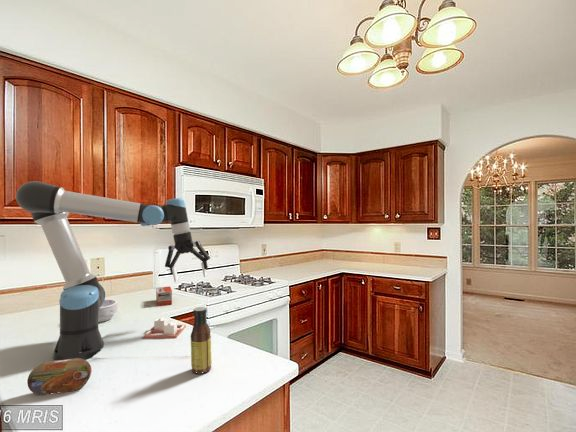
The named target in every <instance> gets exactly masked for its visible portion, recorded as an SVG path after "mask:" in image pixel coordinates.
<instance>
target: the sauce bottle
mask: <svg viewBox="0 0 576 432" xmlns="http://www.w3.org/2000/svg"><path fill="white" fill-rule="evenodd" d="M207 311H208V310H207V308H206V307H205V306H204V307H203V306H200V307H195V308H193V318H194V319H193V326H192V329H191V330H192V331H191V333H190V359H191V360H190V363H191V364H190V365H191V370H192V373H194V372H197V373H202V372H206V373H208V372H210V371H211V370H212V336H211V328H210V326H209V324H208V323H207ZM209 370H210V371H209ZM207 371H208V372H207Z"/></svg>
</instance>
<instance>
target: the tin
mask: <svg viewBox="0 0 576 432" xmlns="http://www.w3.org/2000/svg"><path fill="white" fill-rule="evenodd" d="M92 373H93V371H92V365H91V364H90V362H89V361H88V360H87V359H81V358H75V359H67V360H59V361H55V360H51V361H50V360H49V361H46V362H42V363H41V364H39V365H38V366H35V367H34V368H33V369H32V371H31V372H30V373H29V375H28V377H27V380H26V381H27V386H28V387H27V388H28V389H29V390H30V392H31V393H33V394H34V395H38V396H45V395H46V396H47V394H48V395H52V394H51V393H55V394H59V393H58V392H62V393H67V392H66V391H70V392H74V391H73V390H76V391H78V390H81V389H82V388H83V387H84V386H85V385H86V384H87V383H88V381H89V380H90V379H91V375H92Z"/></svg>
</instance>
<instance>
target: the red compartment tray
mask: <svg viewBox="0 0 576 432" xmlns="http://www.w3.org/2000/svg"><path fill="white" fill-rule="evenodd" d="M186 327H187V325H186V324H177V332H176V333H175V335H164V330H154V326H152V327H151V328H150V329H149V330H148V331H147V332H146V333H145V334H144V335H143V336H142V338H143V339H145V340H146V339H177V338H178V337H179V336H180V335H181V333H182V332H183V331H184V330H185V328H186Z"/></svg>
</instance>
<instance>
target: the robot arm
mask: <svg viewBox="0 0 576 432" xmlns="http://www.w3.org/2000/svg"><path fill="white" fill-rule="evenodd" d="M15 200H16V203H17V205H18V206H19V207H20V208H21V209H23V210H24V211H26V212H28V213H30V215H31V218H32V220H33V222H34V224H37V225H40V226H41V228H42V230H43V234H44V236H45V237H46V240H47V242H48V246H49V247H50V249H51V251H52V254H53V256H54V259H55V261H56V263H57V265H58V268H59V270H60V272H61V274H62V275H61V276H62V277H63V280H64V282H65V284H64V285H63V287H62V289H63V291H62V292H61V293H60V297H59V301H58V302H59V337H58V339H57V342H56V345H55V347H54V350H53V357H52V358H53V361H59V360H67V359H75V358H81V359H84V360H88V359H91V358H93V357H95V356H96V355H97V354H98V353H99V352H101V351H102V349H103V348H104V345H105V344H104V340H103V337H102V335H101V332H100V330H99V322H98V311H99V308H100V307H101V306H102V304H103V302H104V300H106V292H105V288H104V287H103V286H102V284H100V282H99V280H98V277H97V275H96V274H93V273H91V272H90V270H89V267H88V265H87V263H86V261H85V258H84V256H83V253H82V251H81V249H80V245H79V244H78V241H77V238H76V236H75V234H74V232H73V229H72V226H71V224H70V222H69V219H68V217H69V215H70V214H76V215H82V216H83V215H84V216H89V217H97V218H105V219H111V220H117V221H125V222H132V223H137V224H140V226H142V227H145V226H147V227H148V226H157V225H159V224H164V223H169V222H170V227H171V232H172V234H173V241H174V245H173V244H171V245H168V252H167V257H166V259H165V264H164V267H165V268H169V271H170V275H171V276H173V281H174V283H176V282H178V281H179V276H178V275H179V274H178V270H177V266H175V265H176V263H177V261H178V259H179V258H180V255H183V254H189V253H191V254H192V255H194V256H195V257H196V258H197V259H198V260H200V262H201V264H200V265H201V269H202V270H201V271H202V275H203V278H206V277H207V276H208V272H207V269H208V267H209V266H208V260H210V259H211V256H210V255H209V254H208V252H207V251H206V250H205V249H204V247H203V245H202V244H201V241H200V240H199V239H198V240H196V241H193V237H192V233H191V231H190V230H191V228H190V223H189V217H188V212H187V207H186V204H185V200H184V198H182V197H175V198H171V199H167V200H166V201H165V202H166V204H162V205H154V204H146V203H140V202H134V201H128V200H122V199H117V198H110V197H104V196H100V195H93V194H87V193H86V194H85V193H80V192H74V191H69V190H65V189H64V187H62V186H56V185H55V184H54V185H53V184H49V183H47V182H43V181H39V180H38V181H37V180H32V181H27V182H26V183H23V184H22V185H20V186H19V188H18V189H17V190H16V193H15ZM194 247H196V248H197V250H196V248H194ZM175 250H176V252H175V255H174V256H173V254H174V251H175ZM198 251H199V252H198ZM172 257H173V258H172Z"/></svg>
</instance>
